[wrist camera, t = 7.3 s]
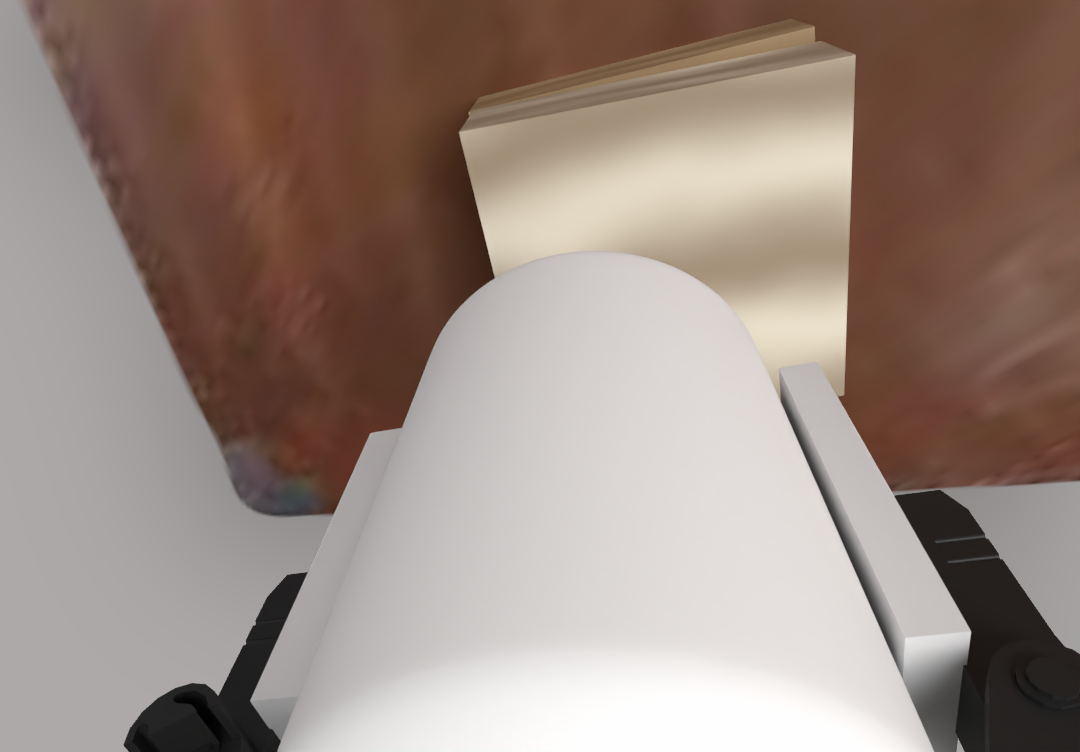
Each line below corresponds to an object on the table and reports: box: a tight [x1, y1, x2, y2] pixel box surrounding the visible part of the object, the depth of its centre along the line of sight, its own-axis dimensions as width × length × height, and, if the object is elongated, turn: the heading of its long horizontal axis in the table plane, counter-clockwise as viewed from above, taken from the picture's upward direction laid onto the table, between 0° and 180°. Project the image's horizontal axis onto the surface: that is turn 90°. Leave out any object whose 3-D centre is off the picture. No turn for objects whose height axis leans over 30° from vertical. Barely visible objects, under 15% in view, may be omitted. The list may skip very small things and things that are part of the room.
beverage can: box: [277, 251, 934, 752], centre depth 12 cm, size 8×8×12 cm
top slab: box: [459, 41, 856, 401], centre depth 30 cm, size 14×14×4 cm
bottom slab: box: [468, 19, 815, 116], centre depth 33 cm, size 14×14×4 cm
